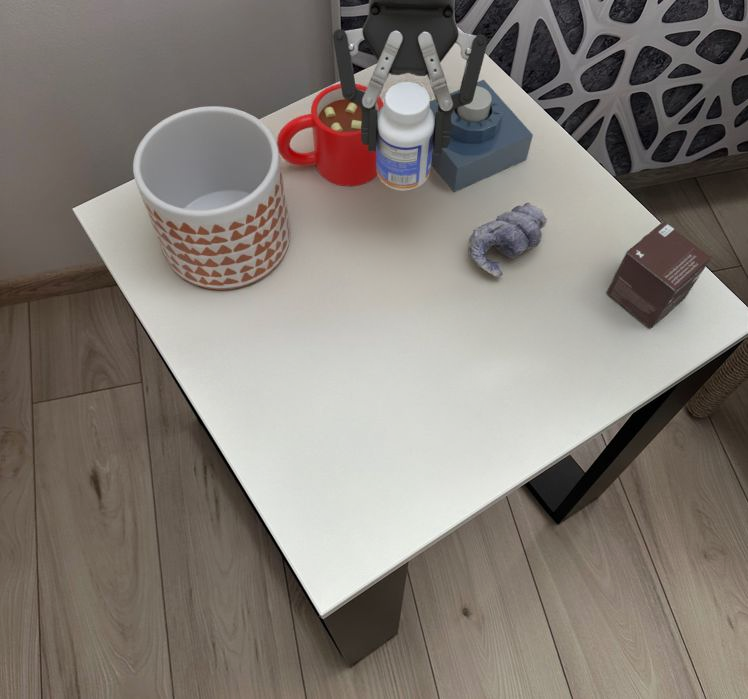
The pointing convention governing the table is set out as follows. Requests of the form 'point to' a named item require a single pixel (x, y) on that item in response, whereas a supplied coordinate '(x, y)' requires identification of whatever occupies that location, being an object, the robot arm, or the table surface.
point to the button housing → (481, 144)
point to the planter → (215, 195)
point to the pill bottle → (405, 137)
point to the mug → (333, 139)
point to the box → (657, 274)
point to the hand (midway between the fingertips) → (404, 151)
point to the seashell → (507, 236)
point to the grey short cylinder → (476, 107)
